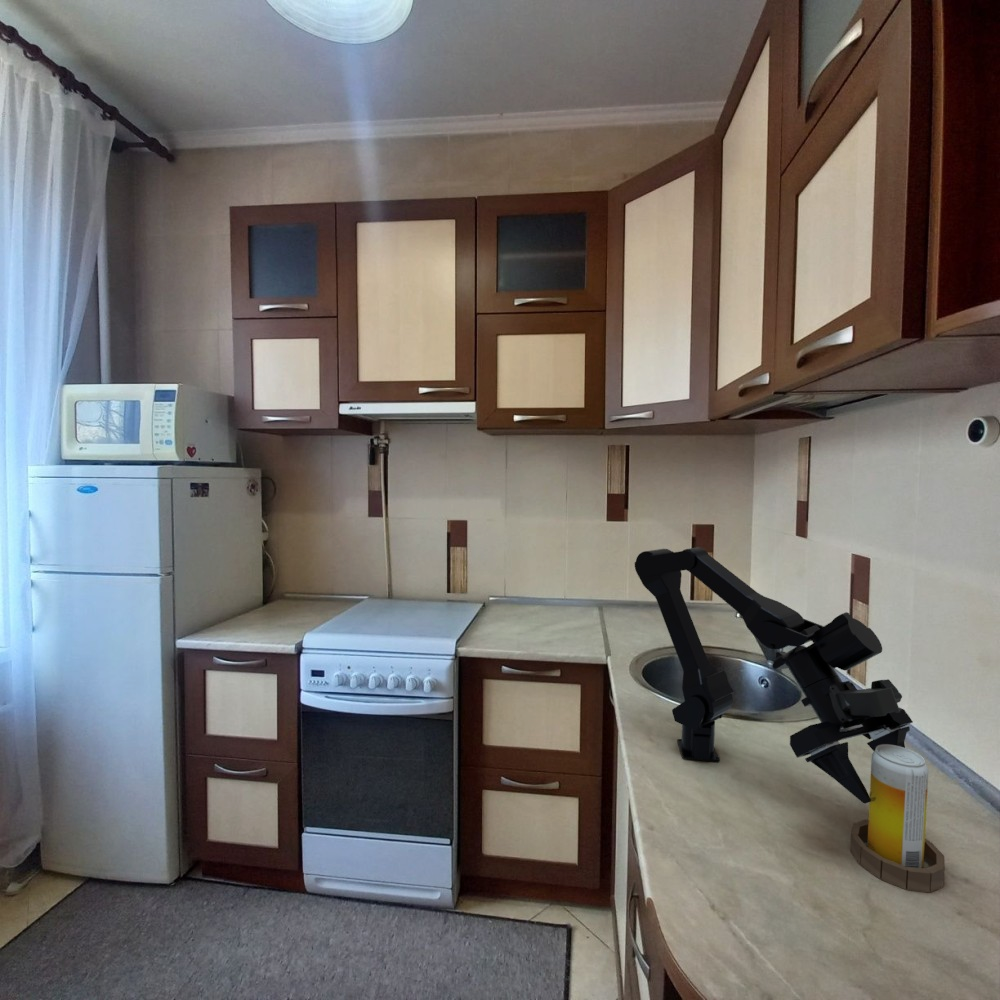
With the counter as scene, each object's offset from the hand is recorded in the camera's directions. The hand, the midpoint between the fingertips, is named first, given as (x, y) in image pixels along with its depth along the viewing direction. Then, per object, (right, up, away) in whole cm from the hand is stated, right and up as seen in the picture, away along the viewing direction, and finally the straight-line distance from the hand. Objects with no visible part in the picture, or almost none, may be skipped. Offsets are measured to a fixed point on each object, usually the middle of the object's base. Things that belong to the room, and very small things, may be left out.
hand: (891, 795), depth 72 cm
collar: (0, -9, 0) cm, 9 cm away
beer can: (0, -9, 0) cm, 9 cm away
